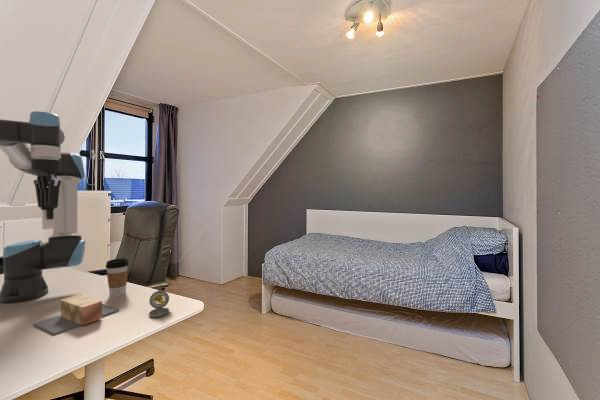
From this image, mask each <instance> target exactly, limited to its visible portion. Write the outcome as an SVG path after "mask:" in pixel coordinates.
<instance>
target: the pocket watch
mask: <svg viewBox="0 0 600 400" xmlns="http://www.w3.org/2000/svg"><path fill="white" fill-rule="evenodd" d="M162 288H164V285H163V284H160V283H159V284H156V285H155V289H157V290H156V291H154V292H153V293H152V294H151V296H150V297H149V305H150V306H151V307H152V308H154V309H152V310H151V311H149V312H148V315H149V317H150V318H160V317H163V316H166V315H168V313H170V309H169V308H168V307H166V306H167V305H168V303H169V301H170V296H169V293H168V292H166V291H164V290H162Z"/></svg>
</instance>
